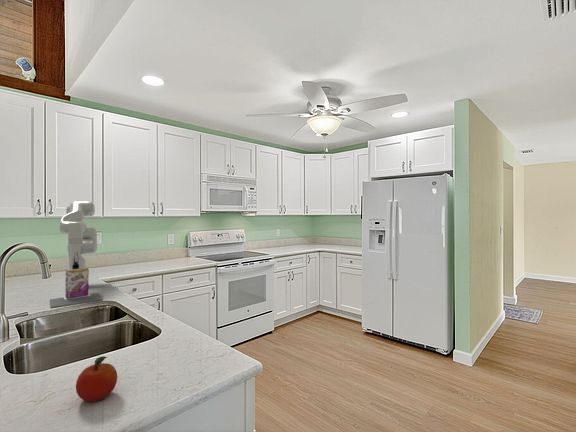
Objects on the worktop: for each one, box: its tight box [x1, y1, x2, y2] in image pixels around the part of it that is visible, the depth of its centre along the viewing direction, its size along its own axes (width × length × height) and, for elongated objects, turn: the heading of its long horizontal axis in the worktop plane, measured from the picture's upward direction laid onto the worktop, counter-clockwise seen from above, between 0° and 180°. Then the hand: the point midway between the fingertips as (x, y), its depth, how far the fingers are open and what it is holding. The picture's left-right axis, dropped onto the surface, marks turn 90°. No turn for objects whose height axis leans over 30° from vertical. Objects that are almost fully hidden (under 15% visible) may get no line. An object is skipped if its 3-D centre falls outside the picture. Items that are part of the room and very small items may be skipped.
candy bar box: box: [64, 267, 89, 298], centre depth 184 cm, size 11×5×16 cm, turn 133°
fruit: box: [75, 356, 118, 403], centre depth 82 cm, size 10×10×10 cm
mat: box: [49, 292, 103, 309], centre depth 178 cm, size 20×24×1 cm
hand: (75, 270), depth 191 cm, fingers closed
